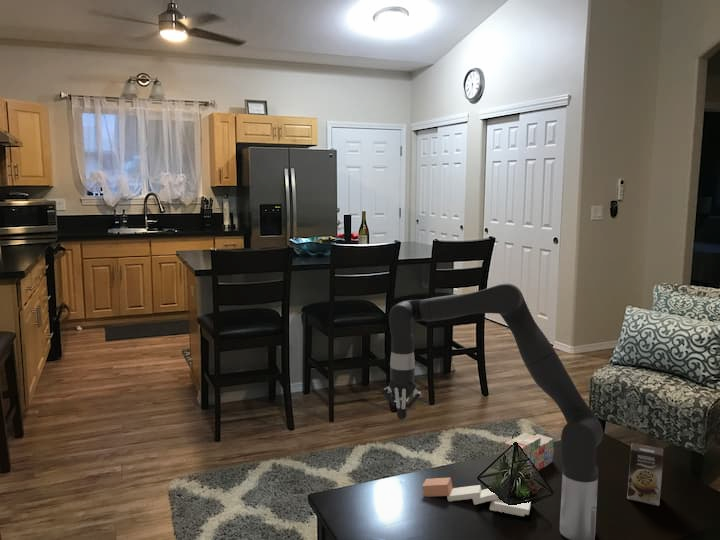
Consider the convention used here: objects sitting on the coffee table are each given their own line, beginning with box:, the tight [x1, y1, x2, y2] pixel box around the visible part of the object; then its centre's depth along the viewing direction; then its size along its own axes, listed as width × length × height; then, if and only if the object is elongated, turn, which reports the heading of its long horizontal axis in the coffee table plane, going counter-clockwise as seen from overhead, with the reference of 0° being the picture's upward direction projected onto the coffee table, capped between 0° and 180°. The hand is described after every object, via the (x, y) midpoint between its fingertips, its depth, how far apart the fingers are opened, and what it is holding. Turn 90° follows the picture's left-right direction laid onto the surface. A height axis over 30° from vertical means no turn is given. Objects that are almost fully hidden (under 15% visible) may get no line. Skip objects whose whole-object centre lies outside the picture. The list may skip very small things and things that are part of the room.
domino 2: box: [446, 484, 482, 502], centre depth 179 cm, size 2×5×10 cm
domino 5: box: [494, 499, 532, 516], centre depth 173 cm, size 2×5×10 cm
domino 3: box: [471, 488, 499, 506], centre depth 178 cm, size 2×5×10 cm
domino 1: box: [422, 477, 454, 498], centre depth 182 cm, size 4×5×8 cm
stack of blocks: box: [504, 432, 554, 471], centre depth 198 cm, size 21×6×12 cm, turn 133°
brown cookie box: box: [626, 442, 665, 507], centre depth 180 cm, size 9×6×16 cm
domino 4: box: [489, 500, 526, 517], centre depth 174 cm, size 2×5×10 cm
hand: (402, 419), depth 184 cm, fingers closed
